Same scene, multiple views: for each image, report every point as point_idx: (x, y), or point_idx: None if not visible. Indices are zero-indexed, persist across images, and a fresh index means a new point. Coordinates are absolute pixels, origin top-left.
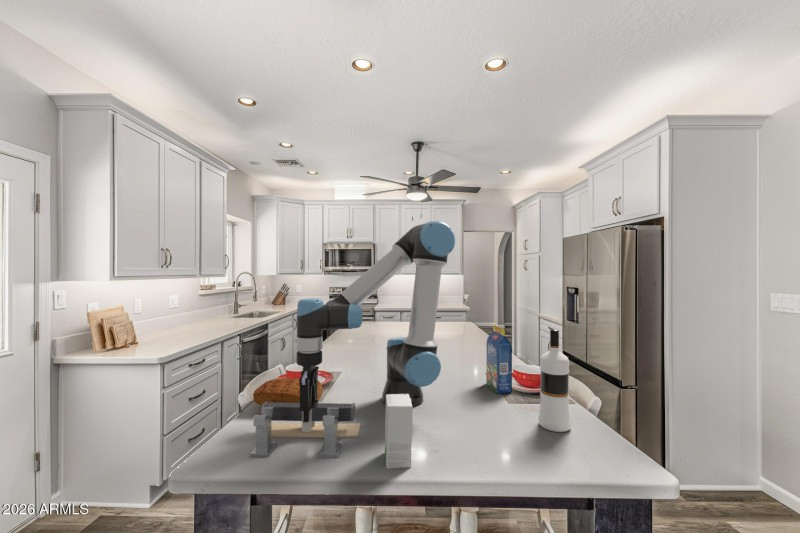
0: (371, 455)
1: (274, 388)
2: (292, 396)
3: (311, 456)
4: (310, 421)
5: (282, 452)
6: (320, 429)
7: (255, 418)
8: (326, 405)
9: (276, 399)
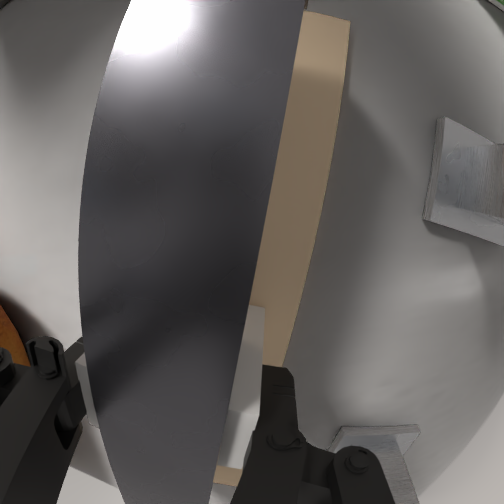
0: (493, 35)
1: None
2: None
3: (483, 278)
4: (260, 350)
5: (407, 396)
6: None
7: None
8: (153, 239)
9: None
